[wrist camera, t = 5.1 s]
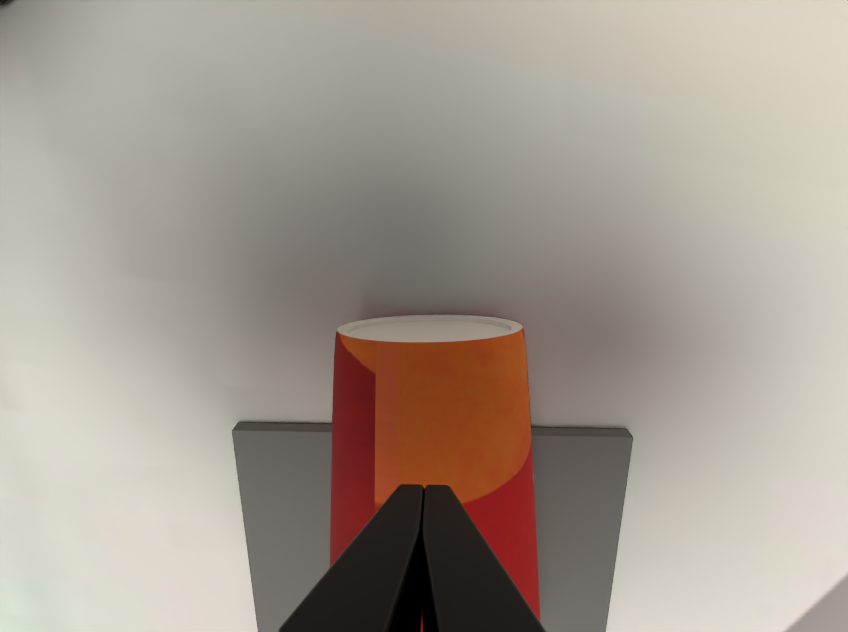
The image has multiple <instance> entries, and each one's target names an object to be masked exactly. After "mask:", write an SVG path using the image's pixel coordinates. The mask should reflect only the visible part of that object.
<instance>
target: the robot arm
mask: <svg viewBox="0 0 848 632" xmlns="http://www.w3.org/2000/svg"><path fill="white" fill-rule="evenodd" d="M6 1H7V0H0V5H1V4H4V3H5V2H6ZM421 627H422V632H547V631H546V630H545V628H544V627H543V625H542V624H541V622H540V621H539V619H538V618H537V616H536V615H535V613H534V612H533V610H532V609H531V607H530V606H529V604H528V603H527V601H526V600H525V598H524V597H523V595H522V594H521V592H520V591H519V589H518V588H517V586H516V585H515V583H514V582H513V580H512V579H511V577H510V576H509V574H508V573H507V571H506V570H505V568H504V567H503V565H502V564H501V562H500V561H499V559H498V558H497V556H496V555H495V553H494V552H493V550H492V549H491V547H490V546H489V544H488V543H487V541H486V540H485V538H484V537H483V535H482V534H481V532H480V531H479V529H478V528H477V526H476V525H475V523H474V522H473V520H472V519H471V517H470V516H469V514H468V513H467V511H466V510H465V508H464V507H463V505H462V504H461V502H460V501H459V499H458V498H457V496H456V495H455V493H454V492H453V490H452V489H451V487H450V486H448V485H427V486H426V487H425V489H424V487H423V485H420V484H401V485H399V486H398V487H397V488H396V489H395V491H394V492H393V493H392V494H391V495H390V497H389V498H388V499H387V500H386V501H385V502H384V504H383V505H382V506H381V507H380V508H379V510H378V511H377V512H376V513H375V514H374V516H373V517H372V518H371V519H370V520H369V522H368V523H367V524H366V525H365V526H364V528H363V529H362V530H361V531H360V532H359V533H358V535H357V536H356V537H355V538H354V539H353V541H352V542H351V543H350V544H349V545H348V547H347V548H346V549H345V550H344V551H343V553H342V554H341V555H340V556H339V557H338V558H337V560H336V561H335V562H334V563H333V564H332V566H331V567H330V568H329V569H328V570H327V572H326V573H325V574H324V575H323V576H322V578H321V579H320V580H319V581H318V582H317V584H316V585H315V586H314V587H313V588H312V589H311V591H310V592H309V593H308V594H307V595H306V597H305V598H304V599H303V600H302V601H301V603H300V604H299V605H298V606H297V607H296V609H295V610H294V611H293V612H292V613H291V615H290V616H289V617H288V618H287V619H286V620H285V622H284V623H283V624H282V625H281V626H280V628H279V629H278V632H421Z"/></svg>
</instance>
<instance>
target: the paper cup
mask: <svg viewBox="0 0 848 632" xmlns="http://www.w3.org/2000/svg"><path fill="white" fill-rule="evenodd" d="M401 484H420V485H423V487H424V489H425V487H426V486H427V485H448V486H450V487H451V489H452V490H453V492H454V493H455V495H456V496H457V498H458V499H459V501H460V502H461V504H462V505H463V507H464V508H465V510H466V511H467V513H468V514H469V516H470V517H471V519H472V520H473V522H474V523H475V525H476V526H477V528H478V529H479V531H480V532H481V534H482V535H483V537H484V538H485V540H486V541H487V543H488V544H489V546H490V547H491V549H492V550H493V552H494V553H495V555H496V556H497V558H498V559H499V561H500V562H501V564H502V565H503V567H504V568H505V570H506V571H507V573H508V574H509V576H510V577H511V579H512V580H513V582H514V583H515V585H516V586H517V588H518V589H519V591H520V592H521V594H522V595H523V597H524V598H525V600H526V601H527V603H528V604H529V606H530V607H531V609H532V610H533V612H534V613H535V615H536V616H537V618H538V619H539V621H540V622H541V620H540V599H539V577H538V556H537V536H536V516H535V496H534V476H533V457H532V439H531V421H530V403H529V387H528V373H527V359H526V348H525V338H524V331H523V326H522V325H521V324H520V323H518V322H515V321H511V320H507V319H501V318H495V317H486V316H473V315H406V316H391V317H381V318H373V319H366V320H360V321H355V322H351V323H347V324H344V325H342V326H340V327H338V328H337V332H336V340H335V354H334V379H333V412H332V458H331V517H330V567H331V566H332V564H333V563H334V562H335V561H336V560H337V558H338V557H339V556H340V555H341V554H342V553H343V551H344V550H345V549H346V548H347V547H348V545H349V544H350V543H351V542H352V541H353V539H354V538H355V537H356V536H357V535H358V533H359V532H360V531H361V530H362V529H363V528H364V526H365V525H366V524H367V523H368V522H369V520H370V519H371V518H372V517H373V516H374V514H375V513H376V512H377V511H378V510H379V508H380V507H381V506H382V505H383V504H384V502H385V501H386V500H387V499H388V498H389V497H390V495H391V494H392V493H393V492H394V491H395V489H396V488H397V487H398V486H399V485H401ZM421 632H422V627H421Z"/></svg>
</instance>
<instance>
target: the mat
mask: <svg viewBox="0 0 848 632" xmlns="http://www.w3.org/2000/svg"><path fill="white" fill-rule="evenodd" d="M232 435H233V442H234V450H235V458H236V465H237V473H238V481H239V489H240V496H241V504H242V512H243V519H244V527H245V535H246V543H247V550H248V558H249V566H250V573H251V581H252V589H253V597H254V604H255V612H256V620H257V627H258V632H278V629H279V628H280V626H281V625H282V624H283V623H284V622H285V620H286V619H287V618H288V617H289V616H290V615H291V613H292V612H293V611H294V610H295V609H296V607H297V606H298V605H299V604H300V603H301V601H302V600H303V599H304V598H305V597H306V595H307V594H308V593H309V592H310V591H311V589H312V588H313V587H314V586H315V585H316V584H317V582H318V581H319V580H320V579H321V578H322V576H323V575H324V574H325V573H326V572H327V570H328V569H329V568H330V517H331V458H332V424H293V423H238V424H237V425H236V426H235V427H234V429H233V430H232ZM531 439H532V457H533V476H534V496H535V516H536V536H537V556H538V577H539V599H540V620H541V624H542V625H543V627H544V628H545V630H546V631H547V632H606V625H607V618H608V611H609V604H610V597H611V590H612V583H613V576H614V569H615V562H616V554H617V547H618V540H619V533H620V526H621V519H622V512H623V505H624V498H625V491H626V484H627V477H628V470H629V463H630V456H631V449H632V442H633V437H632V435H631V434H630V433H629V431H628V430H627V429H592V428H532V427H531Z"/></svg>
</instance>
